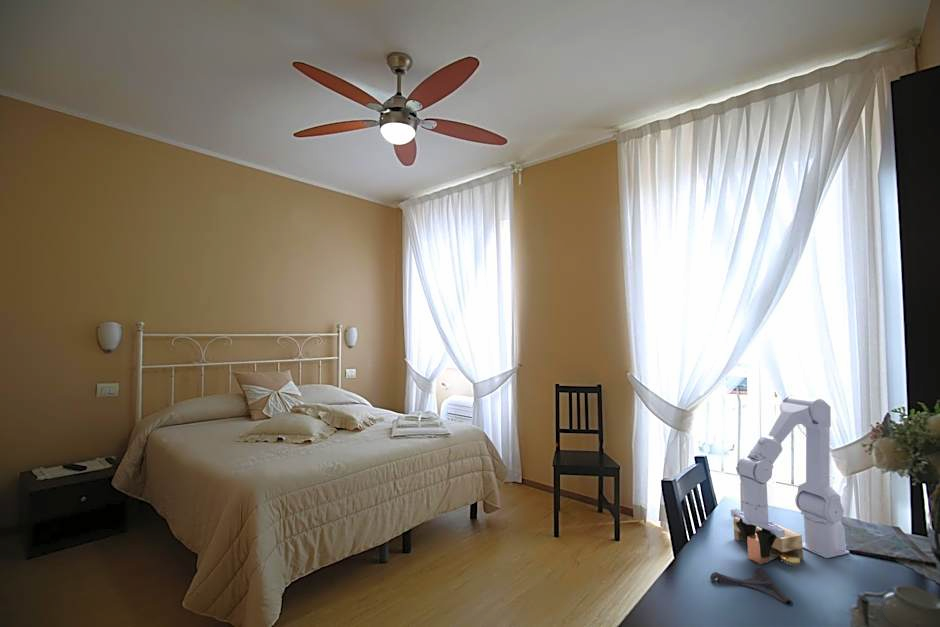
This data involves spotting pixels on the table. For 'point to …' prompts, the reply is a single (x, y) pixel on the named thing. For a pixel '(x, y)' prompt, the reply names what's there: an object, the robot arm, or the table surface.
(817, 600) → the table surface
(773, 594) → the bracket
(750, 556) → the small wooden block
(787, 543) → the wooden plank block
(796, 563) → the token
